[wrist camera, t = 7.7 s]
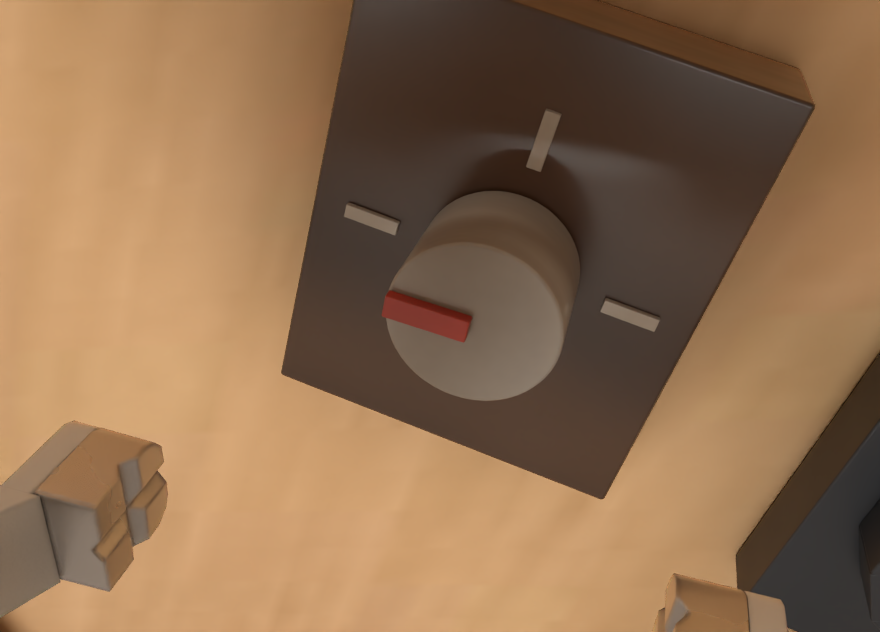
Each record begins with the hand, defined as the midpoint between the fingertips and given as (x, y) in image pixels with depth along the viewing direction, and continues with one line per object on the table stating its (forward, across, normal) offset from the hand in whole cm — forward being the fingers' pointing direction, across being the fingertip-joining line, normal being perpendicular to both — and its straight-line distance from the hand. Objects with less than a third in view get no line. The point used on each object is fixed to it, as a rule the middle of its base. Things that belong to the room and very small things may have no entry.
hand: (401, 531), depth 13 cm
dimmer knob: (+9, 0, 0) cm, 9 cm away
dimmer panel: (+12, 0, 0) cm, 12 cm away
